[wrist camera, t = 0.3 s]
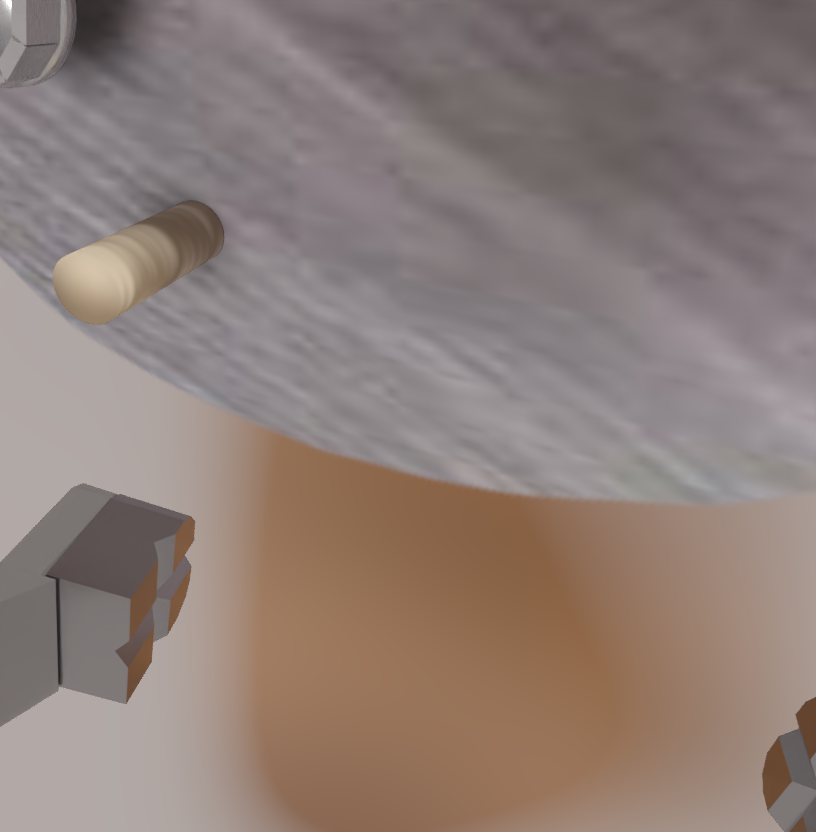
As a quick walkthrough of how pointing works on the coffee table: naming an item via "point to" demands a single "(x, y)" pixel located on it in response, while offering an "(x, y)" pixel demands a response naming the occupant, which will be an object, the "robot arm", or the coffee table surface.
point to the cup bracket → (34, 39)
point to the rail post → (136, 262)
